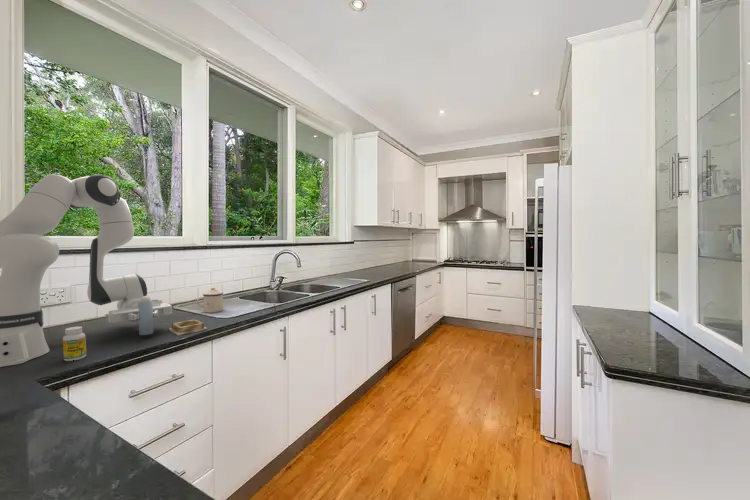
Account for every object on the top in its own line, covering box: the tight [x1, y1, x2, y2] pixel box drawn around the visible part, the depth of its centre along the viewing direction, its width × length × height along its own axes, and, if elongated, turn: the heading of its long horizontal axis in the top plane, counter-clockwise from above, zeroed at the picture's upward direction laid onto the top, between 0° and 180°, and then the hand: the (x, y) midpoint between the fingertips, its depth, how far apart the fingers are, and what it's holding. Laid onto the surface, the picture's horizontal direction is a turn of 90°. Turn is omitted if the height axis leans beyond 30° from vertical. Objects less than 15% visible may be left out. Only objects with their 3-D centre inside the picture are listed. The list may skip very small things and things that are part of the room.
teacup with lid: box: [196, 286, 224, 314], centre depth 168 cm, size 12×9×12 cm
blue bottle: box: [138, 295, 154, 336], centre depth 125 cm, size 4×4×14 cm
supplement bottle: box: [62, 326, 87, 362], centre depth 106 cm, size 5×5×10 cm
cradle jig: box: [168, 318, 208, 336], centre depth 136 cm, size 11×11×3 cm
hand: (146, 316), depth 125 cm, fingers closed on blue bottle, 4 cm apart
